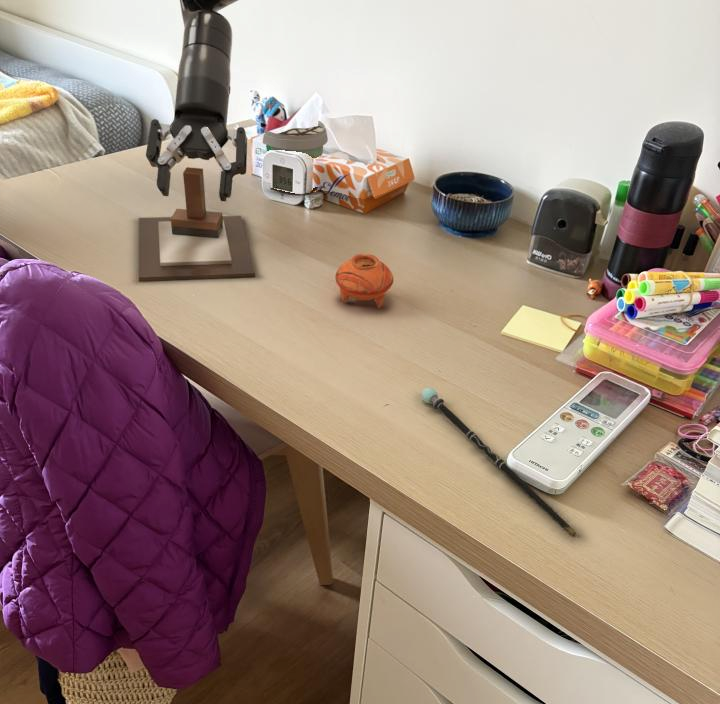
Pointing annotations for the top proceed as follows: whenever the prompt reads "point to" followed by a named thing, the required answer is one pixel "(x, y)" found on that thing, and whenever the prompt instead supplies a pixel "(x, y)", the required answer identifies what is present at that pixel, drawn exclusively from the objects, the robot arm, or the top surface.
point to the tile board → (192, 252)
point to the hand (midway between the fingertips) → (193, 196)
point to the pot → (364, 278)
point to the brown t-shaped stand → (196, 210)
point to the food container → (298, 143)
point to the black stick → (490, 453)
